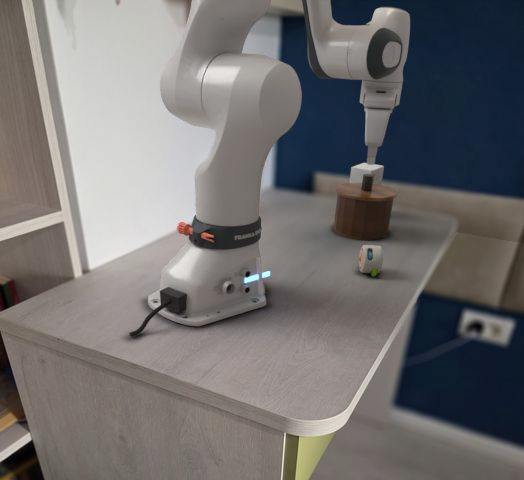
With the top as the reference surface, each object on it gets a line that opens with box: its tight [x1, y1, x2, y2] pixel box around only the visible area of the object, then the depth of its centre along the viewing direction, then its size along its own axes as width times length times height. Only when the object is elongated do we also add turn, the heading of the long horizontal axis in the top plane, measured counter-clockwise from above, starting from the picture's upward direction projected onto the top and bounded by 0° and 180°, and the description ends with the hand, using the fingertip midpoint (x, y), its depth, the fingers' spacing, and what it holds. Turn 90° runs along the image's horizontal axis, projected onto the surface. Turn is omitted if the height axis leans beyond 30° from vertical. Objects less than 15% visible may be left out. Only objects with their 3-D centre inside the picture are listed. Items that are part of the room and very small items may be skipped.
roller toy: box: [358, 244, 384, 277], centre depth 103 cm, size 4×6×6 cm
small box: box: [349, 162, 385, 185], centre depth 137 cm, size 8×6×13 cm
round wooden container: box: [333, 193, 395, 241], centre depth 125 cm, size 14×14×10 cm
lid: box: [336, 174, 397, 201], centre depth 122 cm, size 15×15×5 cm
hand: (371, 160), depth 119 cm, fingers open, 8 cm apart
